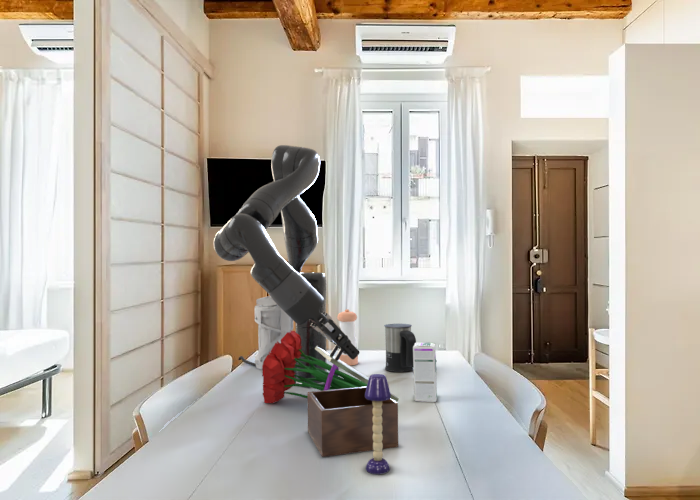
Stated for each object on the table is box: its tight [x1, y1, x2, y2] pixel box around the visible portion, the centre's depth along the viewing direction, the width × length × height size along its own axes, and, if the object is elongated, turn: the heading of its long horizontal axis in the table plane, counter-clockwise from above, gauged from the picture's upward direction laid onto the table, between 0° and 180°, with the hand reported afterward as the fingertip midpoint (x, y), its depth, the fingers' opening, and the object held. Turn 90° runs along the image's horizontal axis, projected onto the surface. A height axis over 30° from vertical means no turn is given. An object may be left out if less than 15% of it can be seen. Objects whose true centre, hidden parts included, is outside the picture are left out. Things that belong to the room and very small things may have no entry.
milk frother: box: [383, 323, 437, 373], centre depth 163 cm, size 14×16×15 cm
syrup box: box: [412, 341, 438, 403], centre depth 129 cm, size 6×6×14 cm
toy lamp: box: [365, 373, 391, 475], centre depth 87 cm, size 5×5×17 cm
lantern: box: [254, 295, 294, 370], centre depth 169 cm, size 13×10×25 cm
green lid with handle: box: [315, 335, 400, 403], centre depth 102 cm, size 16×14×6 cm
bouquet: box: [261, 330, 367, 404], centre depth 125 cm, size 20×16×30 cm
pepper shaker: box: [336, 308, 359, 367], centre depth 173 cm, size 7×7×19 cm
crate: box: [306, 386, 399, 458], centre depth 101 cm, size 16×14×9 cm
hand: (352, 353), depth 102 cm, fingers closed on green lid with handle, 5 cm apart
